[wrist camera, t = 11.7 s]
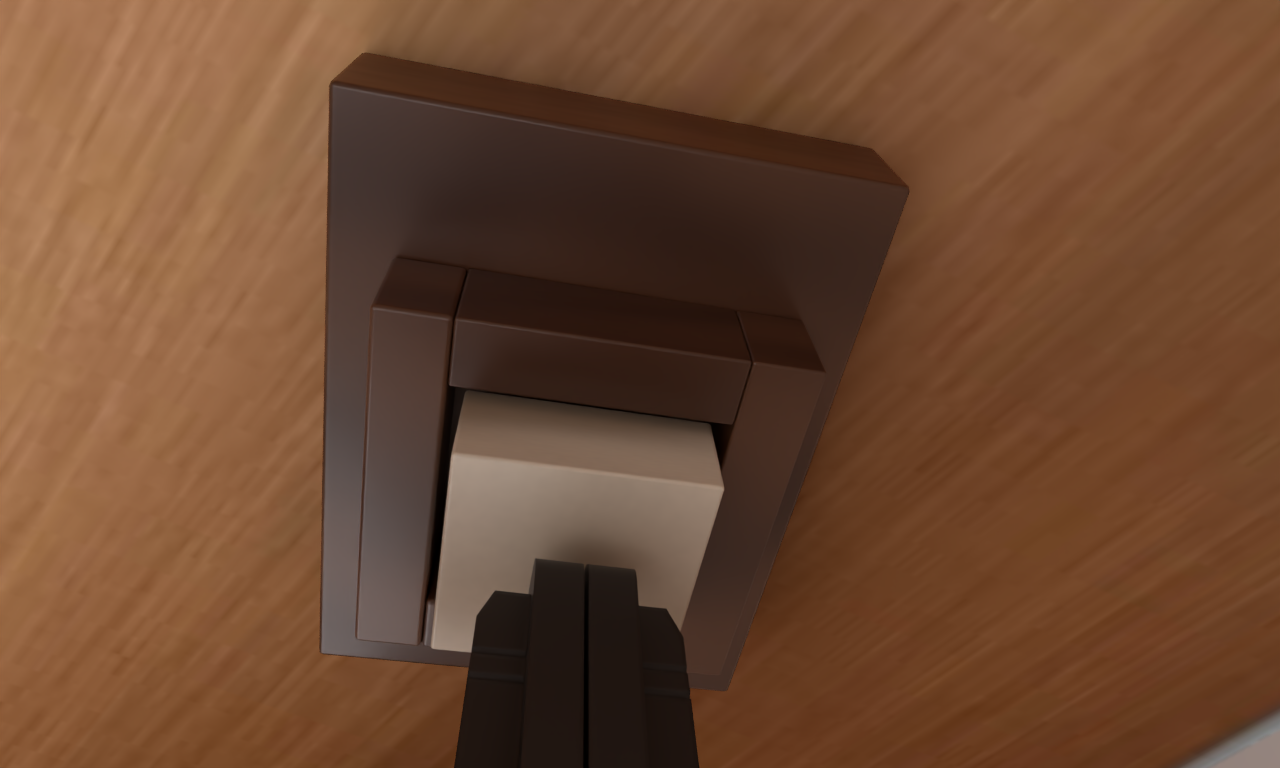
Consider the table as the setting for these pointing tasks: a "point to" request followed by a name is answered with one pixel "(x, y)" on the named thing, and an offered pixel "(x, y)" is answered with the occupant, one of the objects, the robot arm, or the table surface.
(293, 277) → the table surface
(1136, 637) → the table surface
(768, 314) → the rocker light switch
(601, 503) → the key
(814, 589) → the table surface
